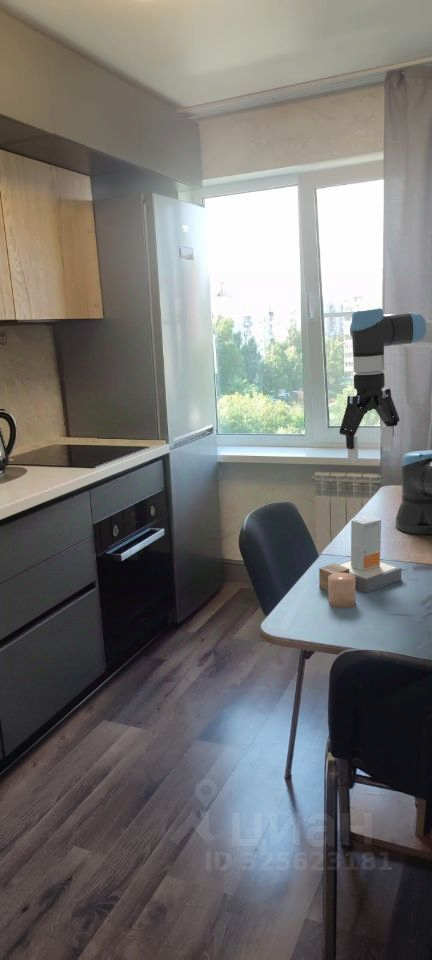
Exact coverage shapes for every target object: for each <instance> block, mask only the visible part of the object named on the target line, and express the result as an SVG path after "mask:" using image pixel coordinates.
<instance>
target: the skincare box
mask: <svg viewBox="0 0 432 960" xmlns="http://www.w3.org/2000/svg"><path fill="white" fill-rule="evenodd" d="M350 526H351V530H350V531H351V532H350V560H351V567H353V568H356V569H358V570H360V571H364V570H368V569H371V568H375V567H379V566H380V561H381V549H382V548H381V543H382V542H381V539H382V519H379V518H376V517H375V516H374V517H373V516H371V515H369V516H365V517H359V518H357V519H353V520H351V524H350Z"/></svg>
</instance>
